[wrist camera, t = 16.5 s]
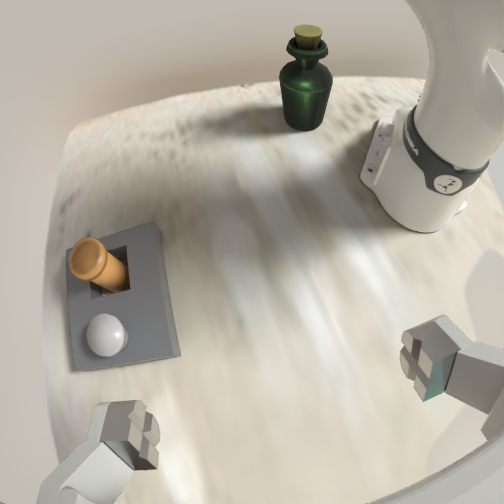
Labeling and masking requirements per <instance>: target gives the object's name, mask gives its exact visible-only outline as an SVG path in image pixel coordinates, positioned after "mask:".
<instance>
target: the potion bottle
mask: <svg viewBox="0 0 504 504" xmlns="http://www.w3.org/2000/svg"><path fill="white" fill-rule="evenodd" d="M294 33H295V37H293V38H292V39H291V40H290V41H289V43H288V45H287V49H286V50H287V52H288V53H289V54H290V55H292V56H293V57H295V59H296V60H294V61H291V62H289V63H287V64H286V65H285V66H284V67H283V68H282V70H281V71H280V75H279V80H280V87H281V94H282V101H283V109H284V116H285V120H286V122H287V123H288V124H289V125H290V126H291V127H293V128H296V129H298V130H304V131H307V130H313V129H315V128H317V127H319V126H320V124H321V123H322V121H323V117H324V114H325V110H326V106H327V102H328V98H329V95H330V91H331V87H332V83H333V77H332V75H331V73H330V72H329V70H328V68H327V67H326V66H324V65H323V64H321V63H319V62H318V61H319V59H322V58H325V57H326V56H327V55H328V48H327V45H326V43H325V42H324V41H323V40H321V39H320V38H321V35H322V30H321V29H320V28H318V27H316V26H313V25H300V26H296V27H295V28H294Z"/></svg>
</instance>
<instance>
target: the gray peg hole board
mask: <svg viewBox="0 0 504 504" xmlns="http://www.w3.org/2000/svg"><path fill="white" fill-rule="evenodd" d="M97 240H98V241H100V242H101V243H102V244H103V245H104V246H105V248H106V250H107V252H109V253H110V254H111V255H113V256H114V257H115V258H118V257H122V256H125V255H127V259H128V269H129V279H130V288H131V289H130V290H126V291H122V292H119V293H115V294H111V295H107V296H103V297H101V288H100V285H98V284H96V283H94V282H92V281H84V280H82V279H80V278H78V277H76V276H75V275H74V274H73V273H72V272H71V270H70V266H69V257H70V254H71V251H72V249H73V248H70V249H67V250H66V274H67V299H68V314H69V325H70V335H71V344H72V352H73V359H74V366H75V370H76V371H91V370H99V369H106V368H113V367H120V366H126V365H132V364H139V363H145V362H150V361H156V360H161V359H167V358H172V357H177V356H181V353H180V348H179V343H178V338H177V333H176V328H175V323H174V317H173V312H172V306H171V300H170V295H169V289H168V282H167V276H166V270H165V263H164V256H163V249H162V242H161V234H160V230H159V229H158V228H157V226H156V225H155V224H154V223H153V222H150V223H147V224H144V225H141V226H137V227H134V228H131V229H128V230H124V231H121V232H118V233H115V234H112V235H109V236H106V237H103V238H100V239H97Z"/></svg>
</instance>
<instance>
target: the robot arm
mask: <svg viewBox="0 0 504 504" xmlns="http://www.w3.org/2000/svg"><path fill="white" fill-rule="evenodd" d="M405 1H406V2H407V4H408V5H409V6H410V8H411V9H412V10H413V12H414V13H415V15H416V17H417V18H418V20H419V22H420V24H421V26H422V29H423V31H424V34H425V37H426V40H427V44H428V49H429V69H428V74H427V78H426V82H425V85H424V88H423V92H422V94H421V96H419V97H420V100H418V104H417V105H416V106H415V107H414V108H401V109H398V110H397V111H396V112H395V115H394V117H393V116H388V117H382V118H380V119H379V121H378V124H377V127H376V130H375V133H374V136H373V139H372V142H371V145H370V148H369V151H368V154H367V157H366V160H365V163H364V166H363V168H362V171H361V174H360V178H361V180H362V182H363V183H364V184H365V185H366V186H367V187H369V188H370V189H371V190H372V191H373V192H374V193H375V194H376V196H377V198H378V200H379V201H380V203H381V205H382V206H383V208H384V209H385V210H386V212H387V213H388V214H389V215H390V216H391V217H392V218H393V219H394V220H396V221H397V222H398V223H400V224H401V225H403V226H405V227H407V228H409V229H411V230H414V231H418V232H425V233H428V232H435V231H438V230H440V229H442V228H444V227H445V226H446V225H447V224H448V223H449V221H450V220H451V219H452V217H453V216H454V215H456V214H458V213H460V212H462V211H463V210H464V209H465V208H466V206H467V201H466V200H467V198H468V197H469V195H470V194H471V193H472V191H473V190H474V188H475V187H476V185H477V184H478V182H479V178H480V177H481V176H482V175H483V173H484V172H485V169H486V168H487V166H488V164H489V160H490V158H491V156H492V155H493V154H494V153H495V151H496V150H497V149H498V147H499V146H500V145H501V143H502V142H503V141H504V84H503V82H502V80H501V79H500V78H499V76H498V75H497V73H496V72H495V71H494V69H493V68H492V66H491V64H490V62H489V60H488V58H487V54H488V53H489V51H491V50H493V51H496V52H498V53H501V54H503V55H504V0H405ZM369 170H371V171H372V172H370V171H369ZM401 342H402V343H403V344H404V347H403V348H402V350H401V351H400V363H401V367H402V370H403V372H404V374H405V375H406V377H407V378H408V379H411V380H413V381H415V382H414V389H415V391H416V392H417V394H418V395H419V397H420V398H421V400H422V401H423V402H424V401H426V400H428V399H430V398H433V397H435V396H437V395H439V394H441V393H443V392H445V393H447V394H448V395H450V396H452V397H454V398H456V399H458V400H460V401H462V402H464V403H466V404H468V405H470V406H472V407H474V408H476V409H478V410H480V411H482V412H484V413H486V414H488V417H487V419H486V420H485V422H484V424H483V425H482V428H481V431H482V433H483V434H484V436H485V437H486V439H487V440H488V441H487V442H485V443H484V444H482V445H481V446H479V447H478V448H476V449H475V450H473V451H472V452H470V453H469V454H467V455H465V456H464V457H462V458H461V459H459V460H457V461H456V462H454V463H452V464H450V465H449V466H447V467H445V468H443V469H442V470H440V471H438V472H436V473H434V474H433V475H430V476H429V477H427V478H425V479H423V480H421V481H419V482H417V483H414V484H412V485H410V486H408V487H406V488H404V489H402V490H399V491H397V492H395V493H392V494H390V495H388V496H385V497H383V498H380V499H378V500H375V501H372V502H370V503H367V504H504V349H501V348H498V347H494V346H491V345H487V344H484V343H481V342H478V341H476V342H474V343H473V342H472V341H471V340H470V339H469V338H468V337H467V336H466V335H465V334H464V333H463V332H462V331H461V330H460V329H459V328H458V327H457V326H456V325H455V324H454V323H453V322H452V321H451V320H450V319H449V318H448V317H447V316H446V315H440V316H438V317H436V318H434V319H432V320H430V321H427V322H425V323H422V324H420V325H418V326H415V327H413V328H411V329H408V330H406V331H404V332H403V334H402V339H401ZM159 441H160V429H159V425H158V422H157V420H156V419H155V417H154V416H153V415H152V414H150V413H148V412H146V405H145V404H144V403H143V402H142V400H130V401H117V402H104V403H98V404H97V405H96V407H95V410H94V414H93V417H92V421H91V424H90V427H89V431H88V435H87V438H86V442H81V443H80V444H79V445H78V446H77V447H76V449H75V450H74V451H73V452H72V453H71V454H70V455H69V456H68V457H67V458H66V459H65V460H64V461H63V462H62V463H61V464H60V465H59V466H58V467H57V468H56V469H55V470H54V471H53V472H52V473H51V474H50V475H49V476H48V477H47V478H46V479H45V480H44V481H43V482H42V484H41V488H40V492H39V496H38V500H37V504H113V503H114V502H115V500H116V499H117V497H118V496H119V494H120V493H121V491H122V490H123V488H124V487H125V485H126V484H127V482H128V481H129V479H130V478H131V476H132V475H133V473H134V470H153V469H157V467H158V456H159V452H158V451H157V449H156V448H155V446H156V445H157V444H158V443H159ZM0 504H4V503H2V502H0Z"/></svg>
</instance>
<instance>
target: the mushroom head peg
mask: <svg viewBox="0 0 504 504" xmlns="http://www.w3.org/2000/svg"><path fill="white" fill-rule="evenodd" d="M69 266H70V270H71V272H72V273H73V274H74V275H75V276H76V277H78V278H80V279H82V280H84V281H92V282H94V283H96V284H98V285H100V286H102V287H104V288H106V289H108V290H109V291H111V292H114V293H119V292H122V291H124V290H125V289H126V288H127V287H128V286H129V284H130V279H129V269H128V267H127V266H126V265H125V264H123V263H122V262H121V261H119V260H118V259H117V258H115V257H114V256H113V255H111V254H110V253H109V252H107V250H106V248H105V246H104V245H103V244H102V243H101V242H100V241H98V240H97V239H95V238H93V237H87V238H84V239H82V240H80V241H79V242H78V243H77V244H76V245H75V246H74V247H73V249H72V251H71V254H70V257H69Z"/></svg>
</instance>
